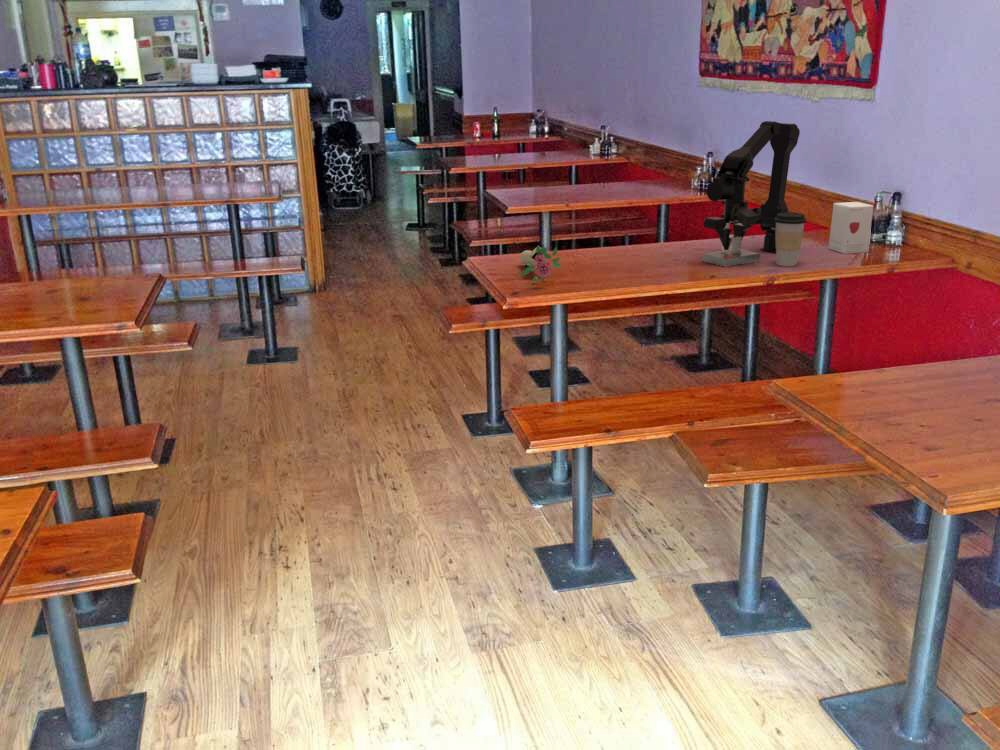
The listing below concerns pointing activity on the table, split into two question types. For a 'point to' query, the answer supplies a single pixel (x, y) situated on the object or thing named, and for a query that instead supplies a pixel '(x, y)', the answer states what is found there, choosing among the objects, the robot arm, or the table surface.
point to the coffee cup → (788, 237)
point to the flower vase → (539, 262)
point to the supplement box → (850, 227)
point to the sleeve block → (730, 258)
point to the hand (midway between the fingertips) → (731, 249)
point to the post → (733, 245)
